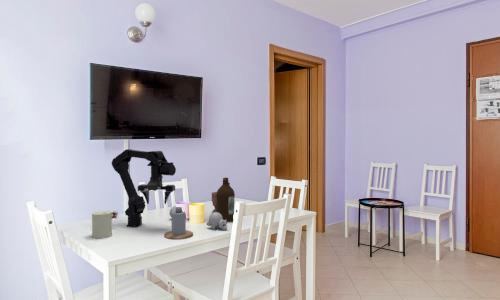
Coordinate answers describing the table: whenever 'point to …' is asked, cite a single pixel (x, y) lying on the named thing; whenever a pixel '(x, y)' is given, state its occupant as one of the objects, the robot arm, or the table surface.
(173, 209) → the ceramic mug
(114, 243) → the table surface
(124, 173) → the robot arm
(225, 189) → the olive oil
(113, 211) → the grandmother figurine
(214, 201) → the mortar and pestle
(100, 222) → the can
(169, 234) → the cheese board
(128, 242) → the table surface
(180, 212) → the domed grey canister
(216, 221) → the chubby cartoon animal
